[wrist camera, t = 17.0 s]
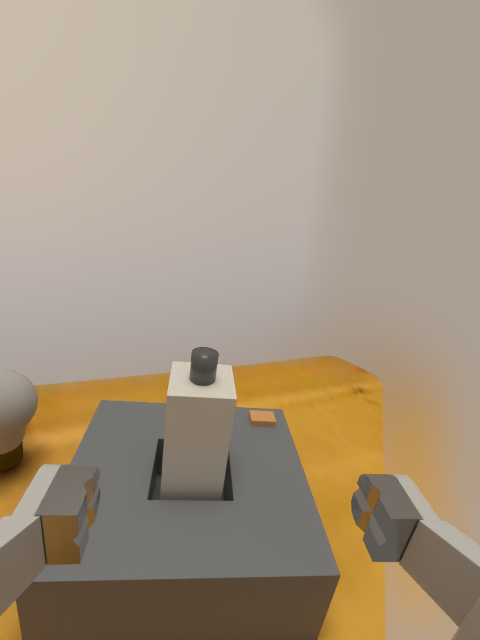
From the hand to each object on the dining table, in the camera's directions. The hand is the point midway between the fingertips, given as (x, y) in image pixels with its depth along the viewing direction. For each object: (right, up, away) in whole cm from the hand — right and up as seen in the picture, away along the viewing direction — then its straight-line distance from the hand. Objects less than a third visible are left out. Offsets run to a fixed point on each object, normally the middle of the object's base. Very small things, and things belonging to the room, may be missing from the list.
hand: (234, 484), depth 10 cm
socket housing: (-4, -12, +18) cm, 22 cm away
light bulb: (-22, -9, +21) cm, 32 cm away
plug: (-4, -10, +17) cm, 20 cm away
